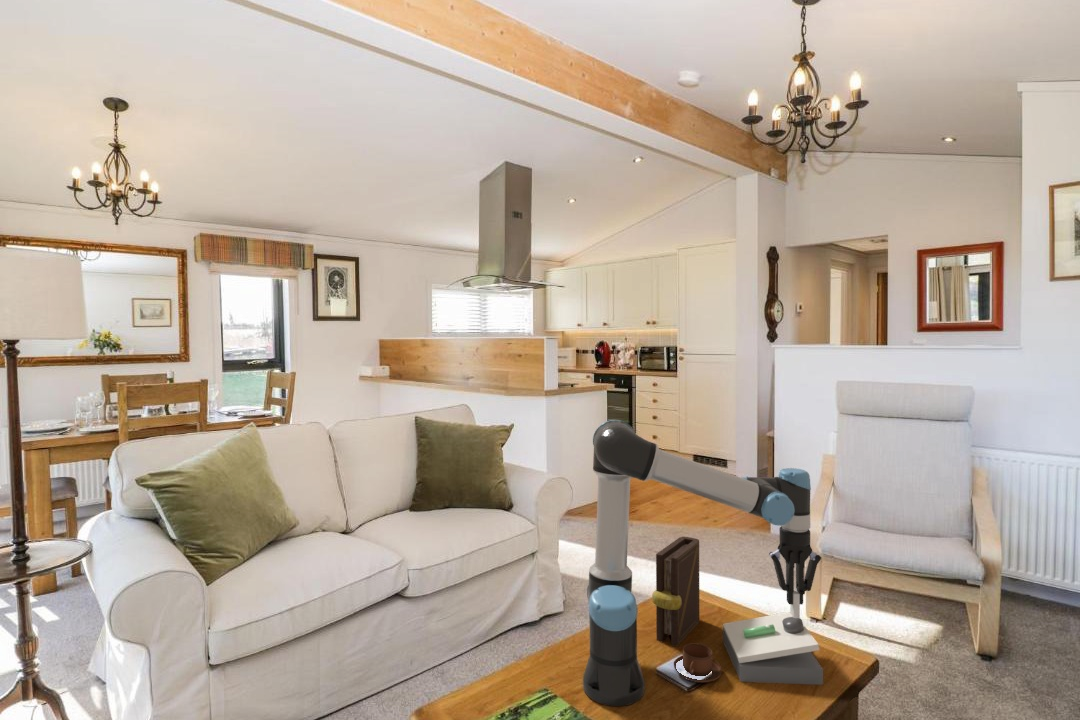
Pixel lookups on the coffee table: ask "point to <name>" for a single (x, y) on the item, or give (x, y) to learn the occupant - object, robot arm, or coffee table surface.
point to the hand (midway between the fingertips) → (795, 615)
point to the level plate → (769, 637)
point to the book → (677, 589)
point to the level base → (778, 668)
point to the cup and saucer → (699, 662)
